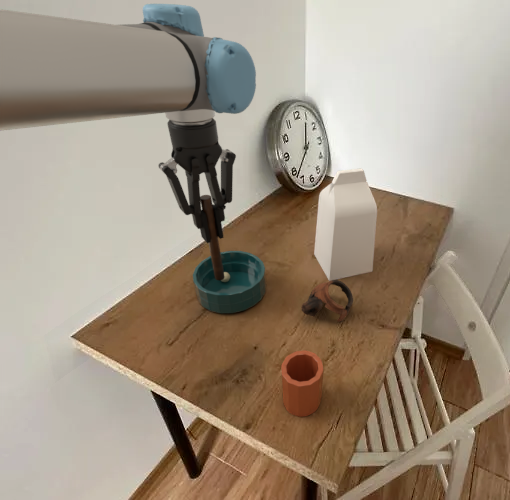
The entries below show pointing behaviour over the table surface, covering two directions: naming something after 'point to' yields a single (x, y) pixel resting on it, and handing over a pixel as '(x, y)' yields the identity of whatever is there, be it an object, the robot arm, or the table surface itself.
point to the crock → (302, 382)
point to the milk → (346, 226)
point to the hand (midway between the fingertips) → (212, 237)
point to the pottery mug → (327, 300)
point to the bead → (226, 277)
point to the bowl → (231, 282)
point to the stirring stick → (213, 237)
